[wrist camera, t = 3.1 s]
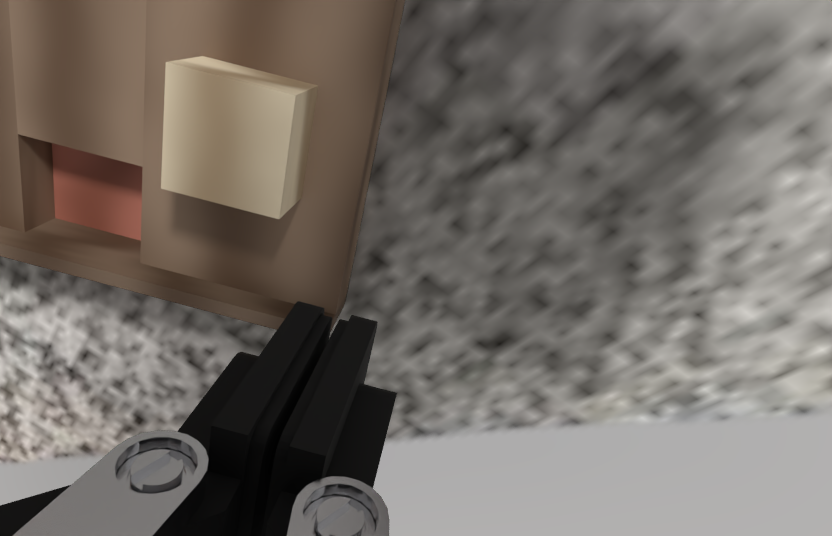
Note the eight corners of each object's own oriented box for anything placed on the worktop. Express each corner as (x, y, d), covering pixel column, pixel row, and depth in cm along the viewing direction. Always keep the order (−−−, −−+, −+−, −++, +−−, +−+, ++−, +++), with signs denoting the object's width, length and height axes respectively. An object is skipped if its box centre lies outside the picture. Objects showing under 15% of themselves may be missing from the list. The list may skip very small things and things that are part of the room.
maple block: (318, 85, 24) (295, 95, 21) (301, 197, 26) (279, 219, 24) (202, 56, 24) (165, 62, 22) (195, 169, 26) (160, 188, 24)
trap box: (417, -61, 24) (402, -73, 20) (345, 303, 31) (324, 342, 27) (-246, -226, 24) (-375, -267, 21) (-163, 169, 32) (-248, 190, 28)
